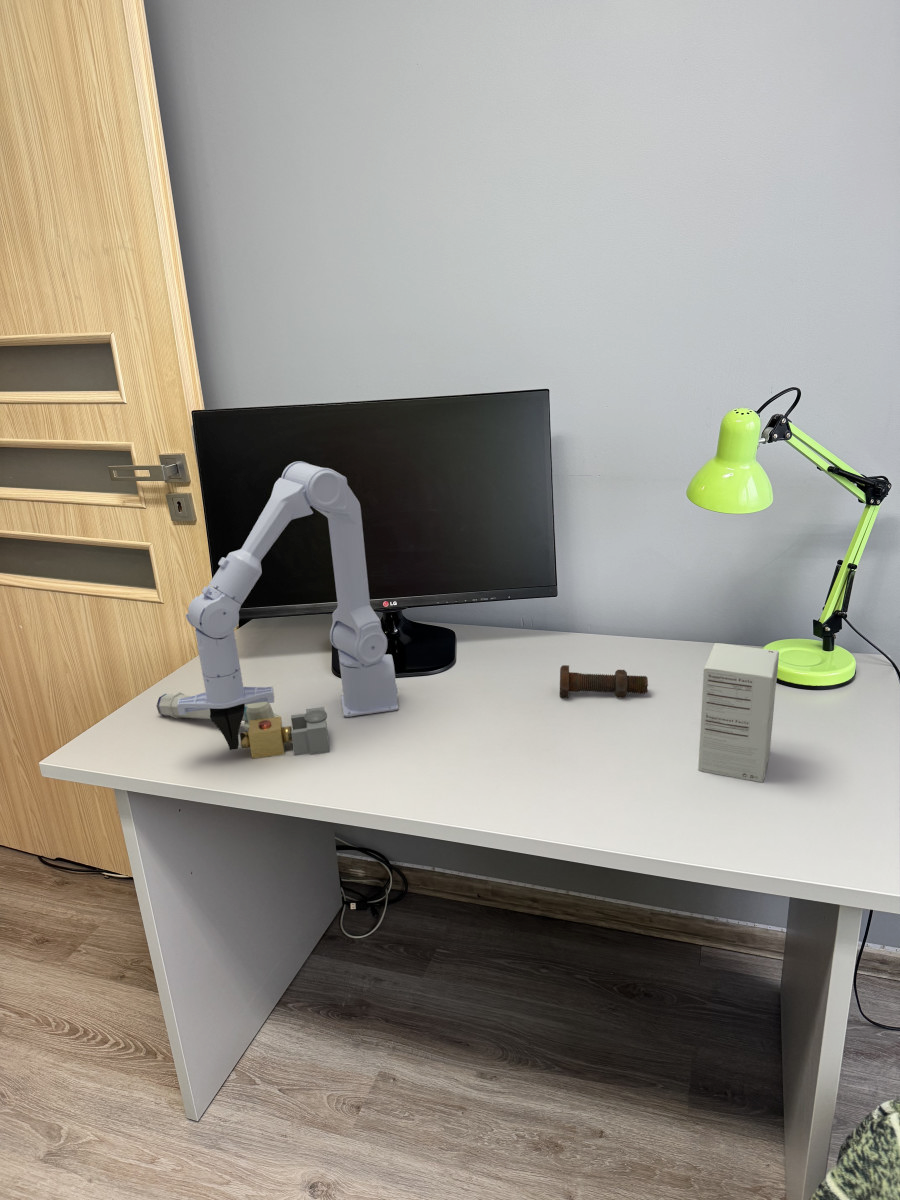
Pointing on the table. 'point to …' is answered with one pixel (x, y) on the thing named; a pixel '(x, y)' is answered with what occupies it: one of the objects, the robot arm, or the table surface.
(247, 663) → the table surface
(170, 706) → the toothbrush head
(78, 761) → the table surface
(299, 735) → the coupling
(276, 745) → the valve
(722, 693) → the supplement box
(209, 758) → the table surface
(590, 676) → the bolt
